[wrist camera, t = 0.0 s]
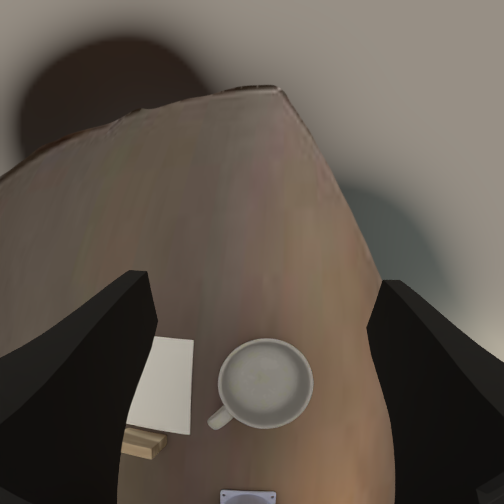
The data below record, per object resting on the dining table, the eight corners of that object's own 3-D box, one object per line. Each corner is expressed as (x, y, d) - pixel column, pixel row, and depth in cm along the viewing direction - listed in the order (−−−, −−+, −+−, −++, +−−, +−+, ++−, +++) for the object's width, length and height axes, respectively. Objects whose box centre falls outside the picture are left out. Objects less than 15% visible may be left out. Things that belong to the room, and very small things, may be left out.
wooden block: (166, 444, 34) (151, 459, 27) (129, 436, 34) (109, 448, 28) (166, 434, 35) (151, 448, 28) (128, 427, 35) (108, 438, 28)
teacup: (277, 326, 40) (283, 320, 32) (316, 389, 37) (331, 398, 29) (190, 373, 38) (175, 379, 30) (229, 437, 35) (224, 456, 27)
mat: (190, 434, 35) (189, 434, 34) (108, 418, 35) (107, 418, 35) (194, 340, 39) (193, 340, 39) (111, 330, 39) (110, 330, 39)
